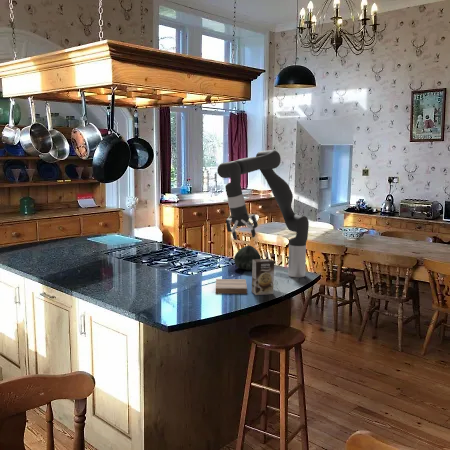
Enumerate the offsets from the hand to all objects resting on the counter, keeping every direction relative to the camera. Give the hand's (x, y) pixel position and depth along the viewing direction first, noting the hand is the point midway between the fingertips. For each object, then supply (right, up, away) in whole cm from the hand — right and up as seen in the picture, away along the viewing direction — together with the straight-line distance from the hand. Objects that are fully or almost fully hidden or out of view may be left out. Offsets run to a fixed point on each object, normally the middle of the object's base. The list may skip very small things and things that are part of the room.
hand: (244, 238), depth 236 cm
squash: (+4, -20, +55) cm, 59 cm away
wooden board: (-6, -25, +15) cm, 30 cm away
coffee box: (+9, -27, +8) cm, 29 cm away
